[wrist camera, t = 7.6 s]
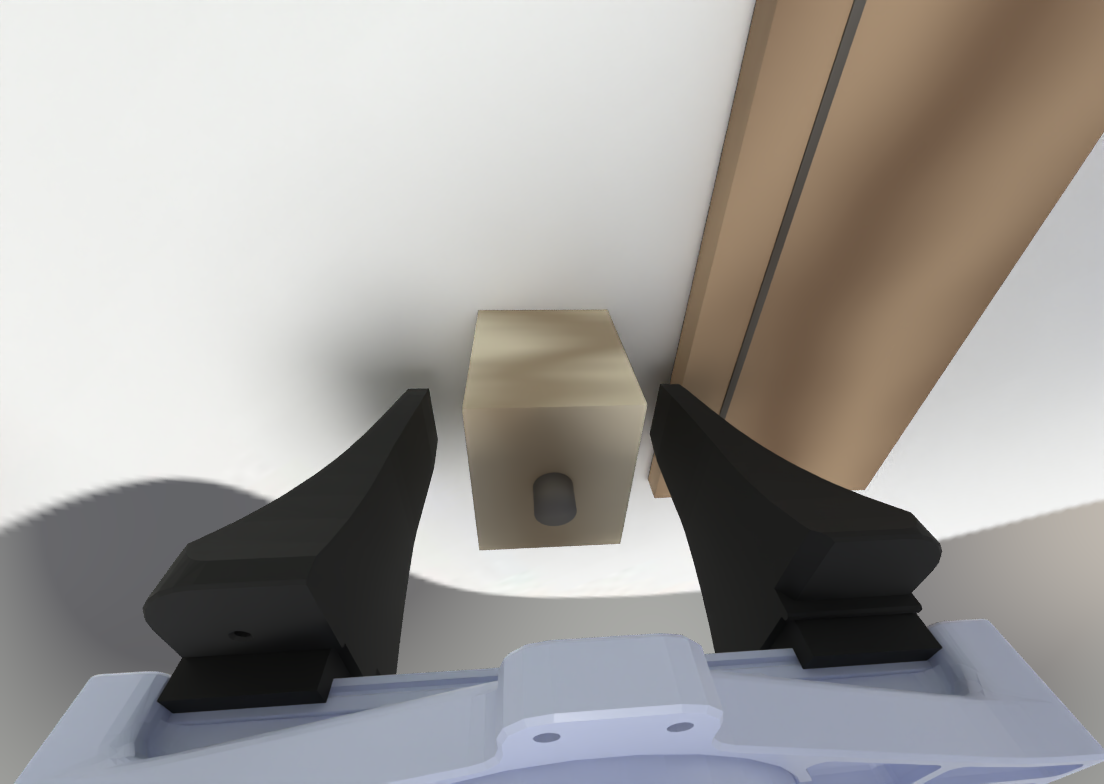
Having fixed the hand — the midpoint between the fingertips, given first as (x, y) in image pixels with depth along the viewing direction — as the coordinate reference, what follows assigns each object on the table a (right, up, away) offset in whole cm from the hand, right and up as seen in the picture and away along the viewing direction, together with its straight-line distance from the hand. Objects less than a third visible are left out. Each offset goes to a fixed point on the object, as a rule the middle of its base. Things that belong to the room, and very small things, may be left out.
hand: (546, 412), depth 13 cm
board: (+9, +5, -1) cm, 10 cm away
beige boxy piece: (0, +1, +1) cm, 2 cm away
